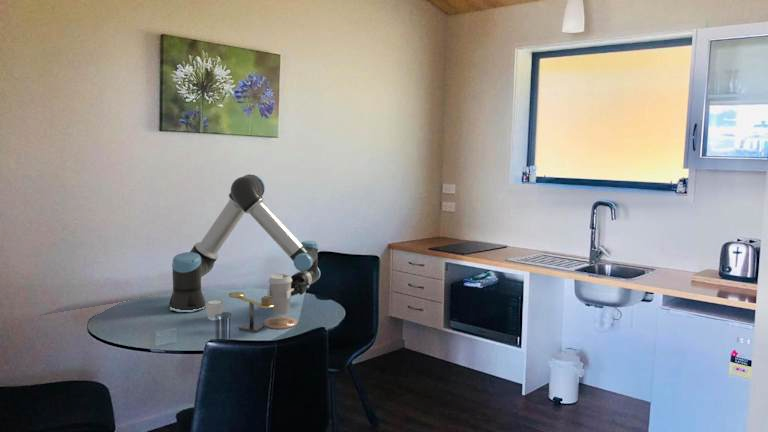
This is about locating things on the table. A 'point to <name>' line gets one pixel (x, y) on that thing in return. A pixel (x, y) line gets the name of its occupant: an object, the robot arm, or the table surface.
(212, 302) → the shot glass
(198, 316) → the table surface
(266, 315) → the table surface
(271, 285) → the coffee cup
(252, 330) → the balance
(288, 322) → the dish
